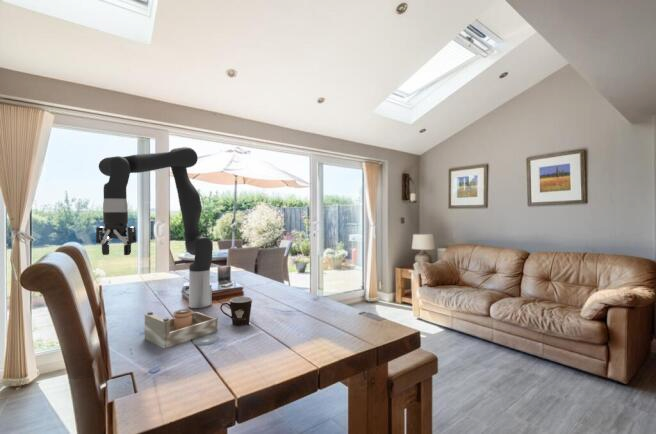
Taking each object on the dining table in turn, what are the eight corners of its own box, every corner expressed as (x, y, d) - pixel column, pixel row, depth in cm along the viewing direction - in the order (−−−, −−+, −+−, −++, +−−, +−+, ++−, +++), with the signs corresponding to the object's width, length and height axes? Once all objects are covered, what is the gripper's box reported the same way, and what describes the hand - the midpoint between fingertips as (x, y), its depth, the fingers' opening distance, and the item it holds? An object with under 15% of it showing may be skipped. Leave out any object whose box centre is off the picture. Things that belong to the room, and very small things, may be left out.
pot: (186, 329, 117) (186, 307, 117) (195, 333, 114) (196, 310, 113) (170, 334, 112) (170, 311, 112) (179, 338, 109) (179, 315, 108)
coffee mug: (256, 322, 127) (256, 297, 127) (243, 329, 119) (244, 303, 119) (232, 319, 131) (232, 295, 131) (218, 325, 123) (218, 300, 123)
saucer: (209, 335, 113) (209, 333, 113) (223, 341, 108) (223, 338, 108) (187, 343, 106) (187, 340, 106) (201, 349, 101) (201, 346, 101)
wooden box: (196, 324, 125) (196, 300, 125) (217, 331, 116) (217, 306, 116) (143, 339, 109) (144, 312, 109) (164, 350, 100) (164, 320, 100)
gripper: (140, 211, 118) (141, 253, 118) (106, 211, 119) (107, 253, 120) (125, 211, 110) (126, 256, 111) (89, 211, 112) (90, 256, 112)
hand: (116, 254), depth 115 cm, fingers open, 8 cm apart
